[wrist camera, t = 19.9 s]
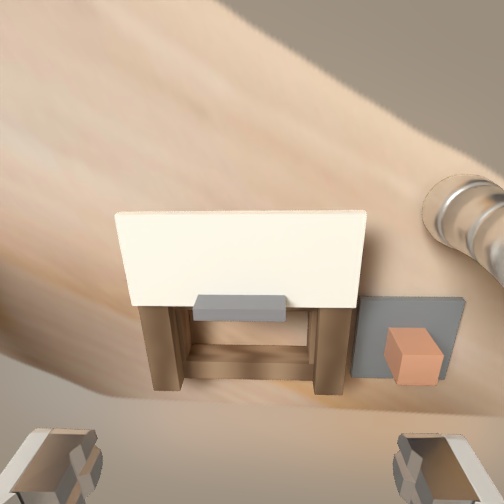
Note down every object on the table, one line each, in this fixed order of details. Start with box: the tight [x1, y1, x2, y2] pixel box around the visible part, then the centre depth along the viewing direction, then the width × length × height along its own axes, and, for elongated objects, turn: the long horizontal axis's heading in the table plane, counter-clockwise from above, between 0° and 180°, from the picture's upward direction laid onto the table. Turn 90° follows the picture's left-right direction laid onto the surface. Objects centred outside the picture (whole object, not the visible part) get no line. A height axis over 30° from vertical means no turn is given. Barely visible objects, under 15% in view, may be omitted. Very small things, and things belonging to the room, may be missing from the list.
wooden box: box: [138, 306, 352, 395], centre depth 36 cm, size 21×16×5 cm
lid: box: [114, 210, 367, 322], centre depth 29 cm, size 21×9×3 cm, turn 92°
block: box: [384, 327, 444, 386], centre depth 36 cm, size 4×4×4 cm
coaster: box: [350, 296, 466, 380], centre depth 39 cm, size 11×11×1 cm
